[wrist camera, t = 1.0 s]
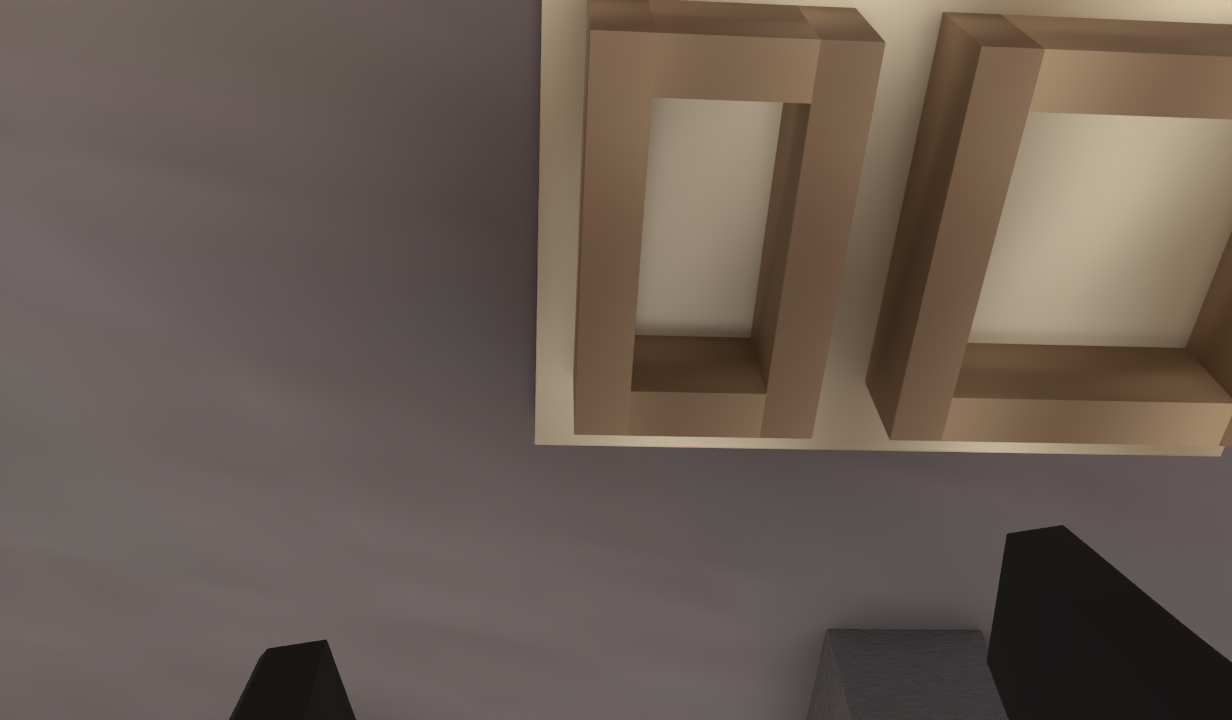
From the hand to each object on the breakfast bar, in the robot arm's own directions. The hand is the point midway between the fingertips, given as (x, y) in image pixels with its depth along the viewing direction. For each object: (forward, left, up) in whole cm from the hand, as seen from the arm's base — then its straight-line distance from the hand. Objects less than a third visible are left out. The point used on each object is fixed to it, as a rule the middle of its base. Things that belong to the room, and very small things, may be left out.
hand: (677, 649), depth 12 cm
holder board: (-6, -1, -11) cm, 13 cm away
